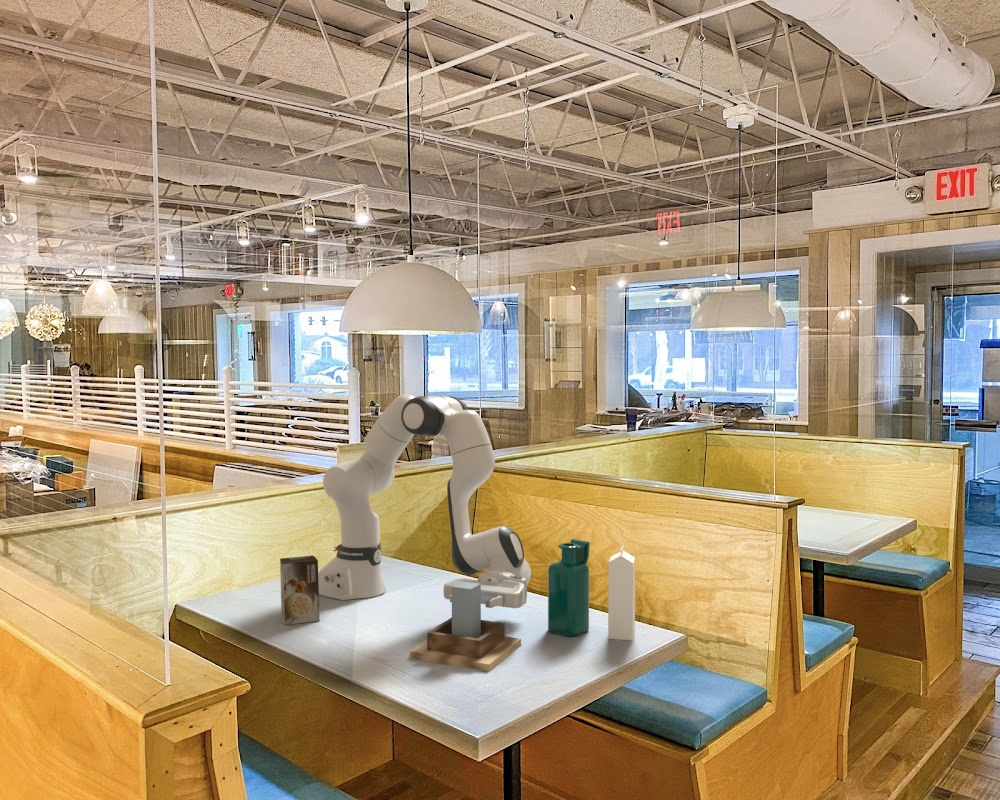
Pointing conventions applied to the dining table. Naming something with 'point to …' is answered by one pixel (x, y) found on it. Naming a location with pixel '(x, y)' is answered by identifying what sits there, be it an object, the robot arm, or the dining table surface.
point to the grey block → (466, 609)
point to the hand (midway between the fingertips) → (470, 601)
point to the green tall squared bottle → (569, 590)
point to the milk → (621, 596)
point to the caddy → (467, 646)
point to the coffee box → (299, 590)
